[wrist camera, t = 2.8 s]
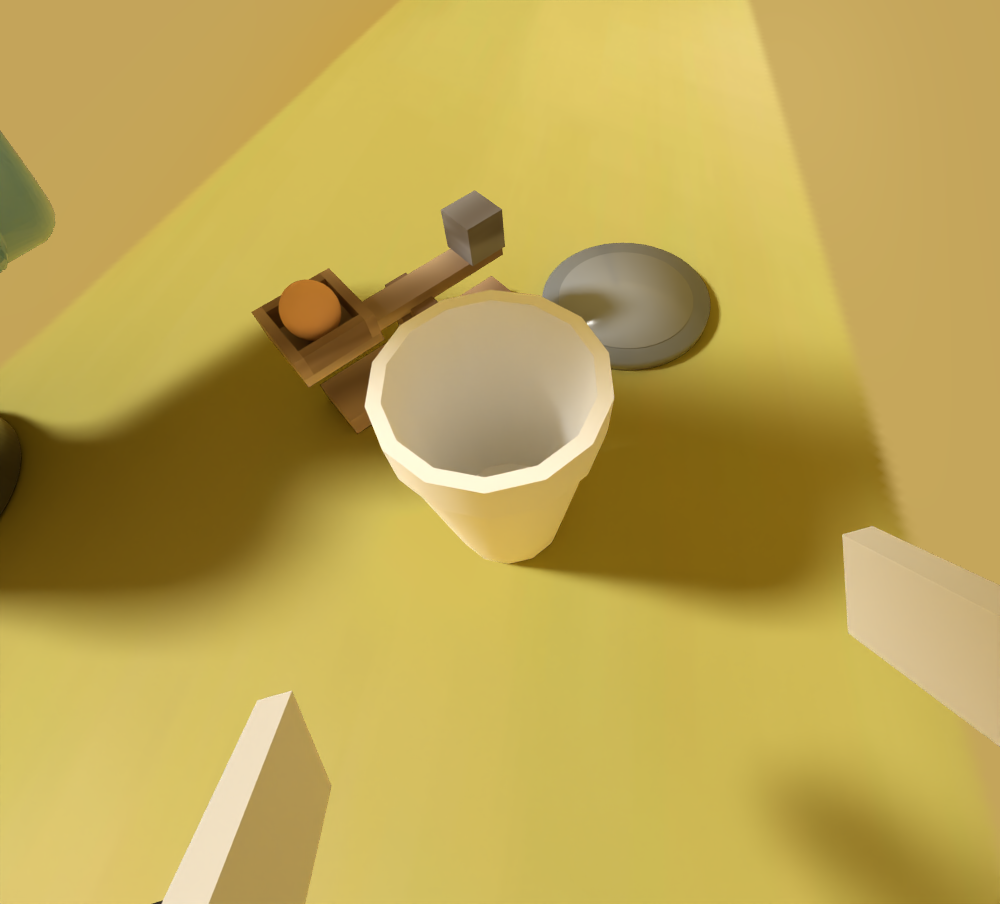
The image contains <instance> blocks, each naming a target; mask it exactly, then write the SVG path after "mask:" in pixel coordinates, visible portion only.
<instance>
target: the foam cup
mask: <svg viewBox="0 0 1000 904" xmlns="http://www.w3.org/2000/svg"><path fill="white" fill-rule="evenodd" d="M613 403H614V391H613V382H612V374H611V365H610V357H609V352H608V351H607V350H606V348H605V347H604V346H603V344H602V343H601V342H600V340H599V339H598V338H597V337H596V335H595V334H594V333H593V331H592V330H591V329H590V327H589V326H588V325H587V324H586V322H585V321H584V320H583V318H582V317H580V316H579V315H577V314H575V313H573V312H571V311H569V310H567V309H565V308H563V307H561V306H559V305H557V304H555V303H553V302H551V301H549V300H548V299H546V298H544V297H542V296H540V295H532V294H523V293H515V292H506V291H497V290H487V291H482V292H478V293H473V294H468V295H463V296H459V297H454V298H449V299H445V300H441V301H439V302H438V303H436V304H434V305H433V306H431V307H430V308H428V309H426V310H425V311H423V312H421V313H420V314H418V315H416V316H415V317H413V318H411V319H410V320H408V321H406V322H405V323H403V324H401V325H400V326H399V327H398V329H397V330H396V331H395V333H394V334H393V335H392V337H391V338H390V339H389V341H388V342H387V343H386V345H385V346H384V347H383V349H382V350H381V351H380V353H379V354H378V355H377V357H376V358H375V359H374V360H373V362H372V366H371V372H370V378H369V384H368V389H367V395H366V401H365V409H366V411H367V414H368V416H369V419H370V421H371V424H372V426H373V429H374V431H375V433H376V436H377V438H378V441H379V443H380V446H381V448H382V451H383V452H384V454H385V456H386V458H387V459H388V461H389V463H390V465H391V467H392V468H393V470H394V472H395V474H396V476H397V477H398V479H399V480H400V481H402V482H403V483H404V484H405V485H407V486H408V487H409V488H411V489H412V490H413V491H414V492H416V493H417V494H418V495H420V496H421V497H422V498H423V499H424V500H425V501H426V502H427V503H428V504H429V505H430V506H431V507H432V508H433V510H434V511H435V512H436V513H437V514H438V515H439V516H440V517H441V518H442V519H443V520H444V521H445V523H446V524H447V525H448V526H449V527H450V528H451V529H452V530H453V531H454V532H455V533H456V534H457V535H458V537H459V538H460V539H461V540H462V541H463V542H464V543H466V545H468V546H469V547H470V548H471V549H473V550H474V551H475V552H476V553H478V554H479V555H480V556H482V557H483V558H484V559H488V560H492V561H497V562H502V563H506V564H510V563H515V562H519V561H523V560H527V559H532V558H534V557H535V556H536V555H537V554H539V553H540V552H541V551H542V550H544V549H545V548H546V547H547V546H549V545H550V544H551V543H552V541H553V539H554V537H555V535H556V533H557V531H558V528H559V526H560V524H561V522H562V520H563V518H564V515H565V513H566V511H567V509H568V506H569V504H570V502H571V500H572V498H573V495H574V493H575V491H576V489H577V487H578V484H579V482H580V480H582V479H583V478H584V477H586V476H587V475H588V473H589V471H590V469H591V467H592V465H593V462H594V460H595V458H596V456H597V454H598V452H599V449H600V447H601V445H602V443H603V441H604V438H605V436H606V434H607V432H608V427H609V422H610V417H611V412H612V407H613Z"/></svg>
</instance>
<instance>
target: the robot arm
mask: <svg viewBox="0 0 1000 904" xmlns="http://www.w3.org/2000/svg"><path fill="white" fill-rule="evenodd" d="M54 226H55V213H54V210H53V208H52V205H51V203H50V201H49V200H48V198H47V196H46V195H45V194H44V192H43V190H42V189H41V187H40V186H39V184H38V183H37V181H36V180H35V178H34V177H33V175H32V174H31V173H30V171H29V170H28V168H27V167H26V166H25V164H24V163H23V161H22V160H21V158H20V157H19V156H18V154H17V153H16V151H15V150H14V149H13V147H12V146H11V145H10V143H9V142H8V141H7V139H6V138H5V136H4V135H3V134H2V132H1V131H0V273H1V272H2V270H5V269H6V268H7V264H8V263H9V262H11V261H12V260H14V259H16V258H18V257H19V256H21V255H23V254H25V253H26V252H28V251H30V250H32V249H33V248H35V247H37V246H38V245H40V244H42V243H44V242H45V241H46V240H47V239H48V238H49V237H50V235H51V234H52V232H53V228H54ZM20 466H21V447H20V442H19V439H18V437H17V434H16V432H15V431H14V429H13V428H12V427H11V425H10V424H9V423H7V422H6V421H5V420H4V419H2V418H1V417H0V515H1V513H2V511H3V510H4V508H5V507H6V505H7V503H8V501H9V499H10V497H11V495H12V493H13V490H14V488H15V485H16V483H17V479H18V476H19V472H20ZM842 538H843V555H844V572H845V589H846V606H847V623H848V633H849V634H850V635H851V636H853V637H854V638H855V639H857V640H858V641H859V642H861V643H862V644H863V645H865V646H866V647H867V648H869V649H870V650H871V651H873V652H874V653H875V654H877V655H878V656H879V657H881V658H882V659H883V660H885V661H886V662H887V663H889V664H890V665H891V666H893V667H894V668H895V669H897V670H898V671H899V672H901V673H902V674H903V675H905V676H906V677H907V678H909V679H910V680H911V681H913V682H914V683H915V684H917V685H918V686H919V687H921V688H922V689H923V690H925V691H926V692H927V693H929V694H930V695H931V696H933V697H934V698H935V699H937V700H938V701H939V702H941V703H942V704H943V705H945V706H946V707H947V708H949V709H950V710H951V711H953V712H954V713H955V714H957V715H958V716H959V717H961V718H962V719H963V720H965V721H966V722H967V723H969V724H970V725H971V726H973V727H974V728H975V729H977V730H978V731H979V732H981V733H982V734H983V735H985V736H986V737H987V738H989V739H990V740H992V741H993V742H994V743H995V744H997V745H998V746H999V747H1000V585H998V584H996V583H994V582H992V581H990V580H988V579H985V578H983V577H981V576H979V575H977V574H975V573H972V572H970V571H968V570H966V569H964V568H962V567H959V566H957V565H955V564H953V563H951V562H949V561H946V560H944V559H942V558H940V557H938V556H936V555H934V554H931V553H929V552H927V551H925V550H923V549H921V548H919V547H916V546H914V545H912V544H910V543H908V542H906V541H904V540H901V539H899V538H897V537H895V536H893V535H891V534H888V533H886V532H884V531H882V530H880V529H878V528H876V527H873V526H870V527H867V528H863V529H860V530H856V531H853V532H849V533H846V534H842ZM330 790H331V783H330V781H329V779H328V776H327V774H326V771H325V769H324V767H323V764H322V762H321V759H320V757H319V755H318V752H317V750H316V747H315V745H314V743H313V740H312V738H311V735H310V733H309V731H308V728H307V726H306V723H305V721H304V718H303V716H302V714H301V711H300V709H299V706H298V704H297V702H296V699H295V697H294V694H293V692H292V691H289V692H285V693H282V694H278V695H275V696H271V697H268V698H264V699H261V700H257V703H256V705H255V707H254V709H253V711H252V713H251V715H250V717H249V719H248V722H247V724H246V726H245V728H244V730H243V732H242V734H241V736H240V739H239V741H238V743H237V745H236V747H235V749H234V751H233V753H232V755H231V758H230V760H229V762H228V764H227V766H226V768H225V770H224V772H223V775H222V777H221V779H220V781H219V783H218V785H217V787H216V789H215V791H214V794H213V796H212V798H211V800H210V802H209V804H208V806H207V808H206V811H205V813H204V815H203V817H202V819H201V821H200V823H199V825H198V827H197V830H196V832H195V834H194V836H193V838H192V840H191V842H190V844H189V847H188V849H187V851H186V853H185V855H184V857H183V859H182V861H181V864H180V866H179V868H178V870H177V872H176V874H175V876H174V878H173V880H172V883H171V885H170V887H169V889H168V891H167V893H166V895H165V897H164V900H163V901H160V902H156V903H153V904H305V901H306V897H307V893H308V888H309V884H310V879H311V875H312V870H313V866H314V861H315V857H316V853H317V848H318V844H319V839H320V835H321V830H322V826H323V821H324V817H325V813H326V808H327V804H328V799H329V795H330Z"/></svg>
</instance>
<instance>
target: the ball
mask: <svg viewBox="0 0 1000 904" xmlns="http://www.w3.org/2000/svg"><path fill="white" fill-rule="evenodd" d="M279 315H280V318H281V320H282V322H283V324H284V326H285V327H286V328H287V329H288V330H289V331H290V332H291V333H292V334H294V335H295V336H297V337H299V338H301V339H304V340H309V341H316V340H318V339H319V338H321V337H322V336H324V335H326V334H327V333H329V332H331V331H332V330H334V329H336V328H337V327H338V325H339V323H340V320H341V306H340V303H339V300H338V298H337V296H336V295H335V294H334V292H333V291H332V290H331V289H330V288H329V287H327V286H326V285H324V284H323V283H320V282H318V281H314V280H300V281H296V282H294V283H292V284H291V285H289V286H288V287H287V288H286V289H285V290H284V291H283V293H282V295H281V297H280V300H279Z"/></svg>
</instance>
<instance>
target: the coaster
mask: <svg viewBox="0 0 1000 904" xmlns="http://www.w3.org/2000/svg"><path fill="white" fill-rule="evenodd" d="M543 297H544V298H546V299H548V300H549V301H551V302H553V303H555V304H557V305H559V306H561V307H563V308H565V309H567V310H569V311H571V312H573V313H575V314H577V315H579V316H580V317H582V318H583V320H584V321H585V322H586V324H587V325H588V326H589V327H590V329H591V330H592V331H593V333H594V334H595V335H596V337H597V338H598V339H599V340H600V342H601V343H602V344H603V346H604V347H605V348H606V350H607V351H608V352H609V357H610V365H611V369H615V370H641V369H648V368H652V367H657V366H660V365H663V364H666V363H669V362H671V361H673V360H675V359H677V358H679V357H680V356H682V355H683V354H684V353H686V352H687V351H688V350H689V349H691V348H692V347H693V346H694V345H695V343H696V342H697V341H698V340H699V338H700V336H701V335H702V333H703V331H704V328H705V326H706V323H707V320H708V318H709V314H710V297H709V293H708V290H707V287H706V285H705V283H704V282H703V280H702V278H701V277H700V276H699V274H698V273H697V272H696V271H695V270H694V269H693V268H692V267H691V266H690V265H689V264H687V263H686V262H685V261H683V260H682V259H680V258H679V257H677V256H675V255H673V254H671V253H669V252H667V251H664V250H662V249H658V248H655V247H652V246H647V245H642V244H635V243H611V244H604V245H599V246H595V247H591V248H588V249H585V250H583V251H580V252H578V253H576V254H574V255H572V256H571V257H569V258H567V259H566V260H565V261H563V262H562V263H561V264H560V265H559V266H558V267H557V268H556V269H555V270H554V271H553V272H552V274H551V275H550V276H549V278H548V280H547V282H546V284H545V287H544V291H543Z"/></svg>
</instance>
